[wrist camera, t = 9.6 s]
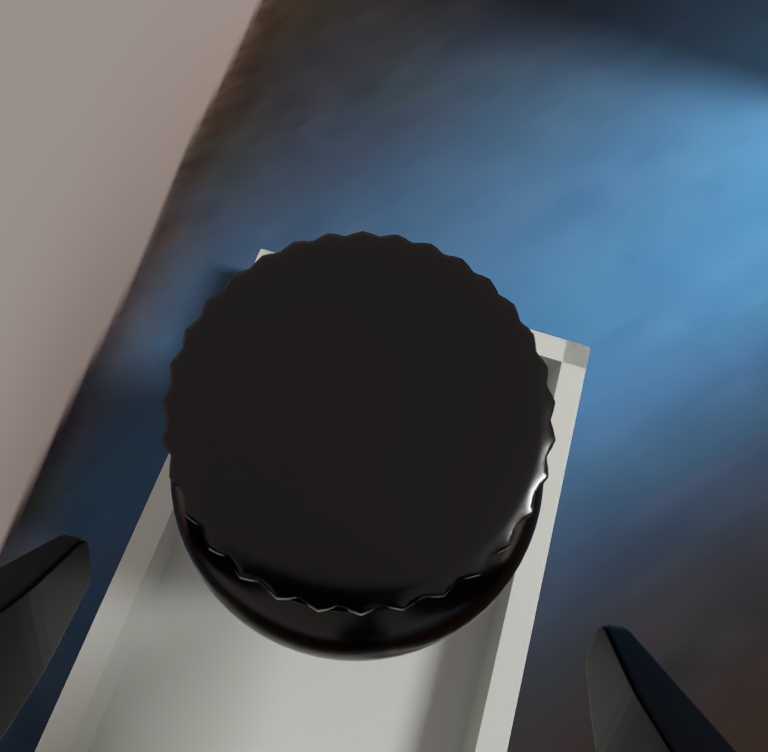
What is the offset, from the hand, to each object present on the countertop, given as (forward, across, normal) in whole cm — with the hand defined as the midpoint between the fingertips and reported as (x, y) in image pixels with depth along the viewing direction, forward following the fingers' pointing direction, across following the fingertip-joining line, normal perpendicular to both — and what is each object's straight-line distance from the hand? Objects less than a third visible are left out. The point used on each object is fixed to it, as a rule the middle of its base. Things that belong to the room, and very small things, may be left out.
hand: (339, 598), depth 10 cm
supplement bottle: (+8, 0, +4) cm, 8 cm away
